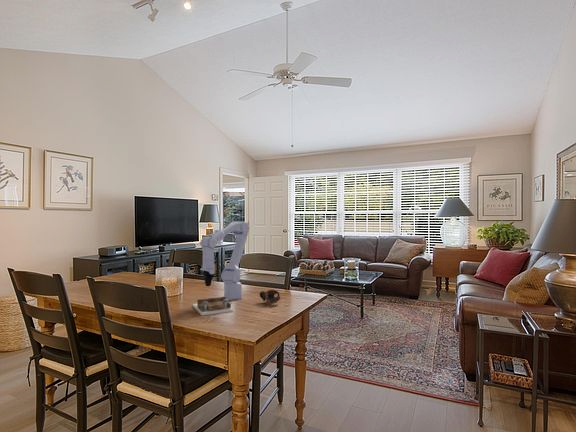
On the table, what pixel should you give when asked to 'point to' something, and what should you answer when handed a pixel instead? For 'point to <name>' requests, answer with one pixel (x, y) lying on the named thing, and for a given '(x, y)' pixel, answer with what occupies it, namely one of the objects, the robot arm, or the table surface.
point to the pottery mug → (270, 296)
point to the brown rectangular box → (213, 303)
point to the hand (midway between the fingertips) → (208, 285)
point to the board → (208, 312)
